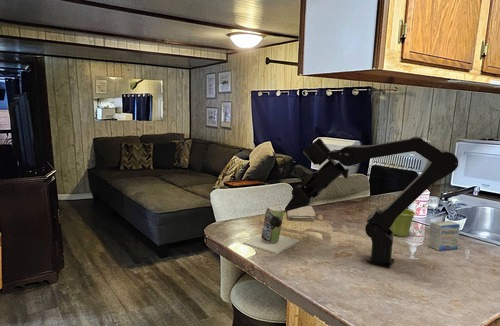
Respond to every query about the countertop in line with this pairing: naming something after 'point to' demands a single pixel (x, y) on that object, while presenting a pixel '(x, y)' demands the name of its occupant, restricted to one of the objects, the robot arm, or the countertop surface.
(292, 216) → the washcloth
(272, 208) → the beverage can
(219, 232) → the countertop surface
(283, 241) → the cream mat
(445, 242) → the medicine box
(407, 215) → the plant pot
